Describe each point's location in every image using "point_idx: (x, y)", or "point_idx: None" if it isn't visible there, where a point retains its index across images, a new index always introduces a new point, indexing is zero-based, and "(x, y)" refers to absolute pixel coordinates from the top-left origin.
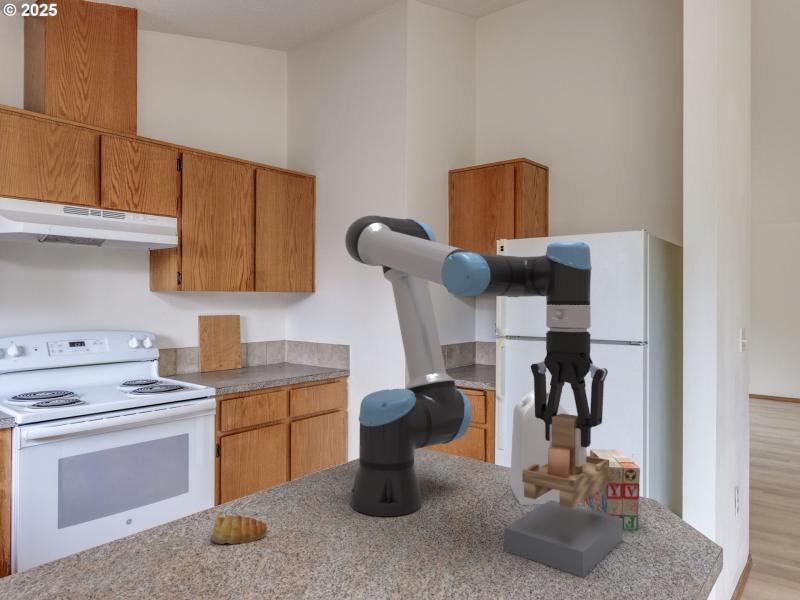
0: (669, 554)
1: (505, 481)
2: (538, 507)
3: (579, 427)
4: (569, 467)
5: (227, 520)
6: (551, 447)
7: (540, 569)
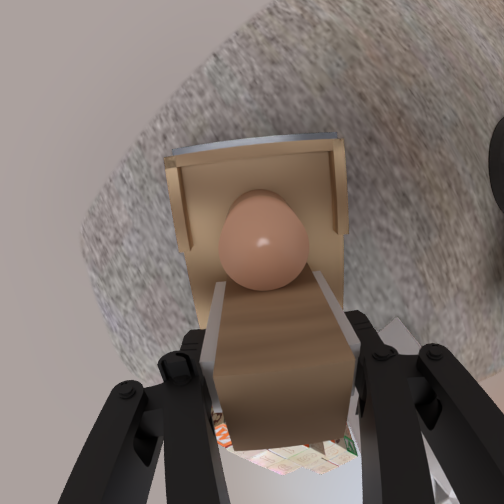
0: (144, 317)
1: None
2: None
3: (190, 360)
4: None
5: None
6: (301, 251)
7: (244, 121)
